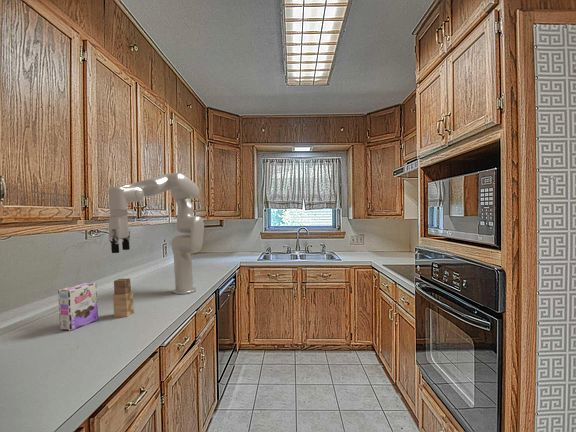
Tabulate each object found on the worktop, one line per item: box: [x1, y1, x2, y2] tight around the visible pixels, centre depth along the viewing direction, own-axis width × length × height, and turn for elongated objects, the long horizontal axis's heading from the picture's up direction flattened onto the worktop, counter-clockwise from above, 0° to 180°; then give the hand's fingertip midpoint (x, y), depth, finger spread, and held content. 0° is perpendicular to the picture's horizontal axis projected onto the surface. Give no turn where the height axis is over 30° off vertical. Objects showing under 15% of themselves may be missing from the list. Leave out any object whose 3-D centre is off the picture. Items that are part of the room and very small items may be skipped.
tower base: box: [113, 302, 135, 318], centre depth 166 cm, size 6×6×5 cm
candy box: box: [57, 282, 99, 332], centre depth 153 cm, size 14×6×16 cm, turn 161°
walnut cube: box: [113, 278, 132, 295], centre depth 165 cm, size 5×5×6 cm
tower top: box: [112, 290, 134, 307], centre depth 166 cm, size 6×6×5 cm
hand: (121, 251), depth 168 cm, fingers open, 9 cm apart
